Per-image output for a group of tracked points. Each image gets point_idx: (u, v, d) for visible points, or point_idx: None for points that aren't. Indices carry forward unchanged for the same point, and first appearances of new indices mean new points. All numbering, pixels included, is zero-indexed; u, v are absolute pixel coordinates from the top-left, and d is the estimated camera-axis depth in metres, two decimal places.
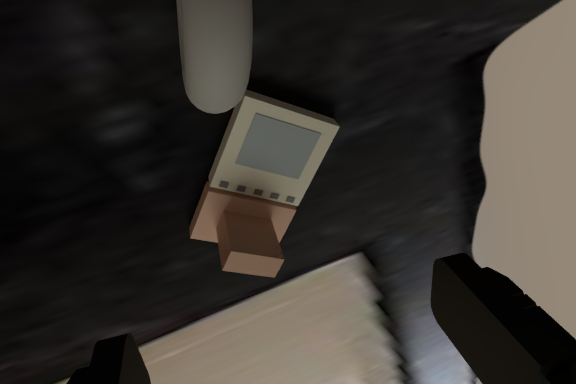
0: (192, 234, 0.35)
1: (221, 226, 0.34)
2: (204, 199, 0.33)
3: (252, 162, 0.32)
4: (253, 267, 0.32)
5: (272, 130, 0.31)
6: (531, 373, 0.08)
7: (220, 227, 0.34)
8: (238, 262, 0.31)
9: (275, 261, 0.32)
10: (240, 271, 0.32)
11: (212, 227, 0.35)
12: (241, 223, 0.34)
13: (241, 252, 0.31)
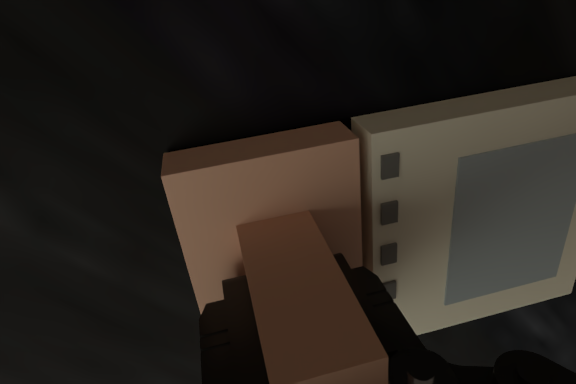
0: (179, 175, 0.10)
1: (284, 238, 0.10)
2: (319, 142, 0.11)
3: (467, 194, 0.12)
4: None
5: (554, 187, 0.13)
6: None
7: (274, 236, 0.10)
8: None
9: None
10: None
11: (235, 215, 0.11)
12: None
13: None
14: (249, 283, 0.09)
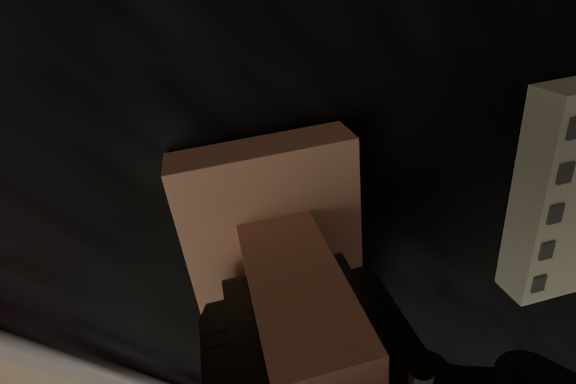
0: (179, 175, 0.10)
1: (285, 238, 0.10)
2: (319, 142, 0.11)
3: None
4: None
5: None
6: None
7: (274, 236, 0.10)
8: None
9: None
10: None
11: (235, 215, 0.11)
12: None
13: None
14: (249, 283, 0.09)
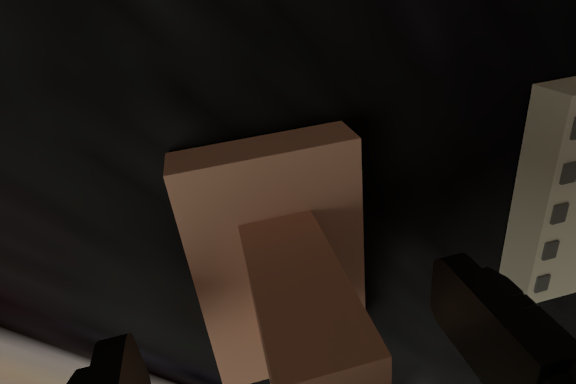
0: (181, 175, 0.10)
1: (287, 238, 0.10)
2: (321, 142, 0.11)
3: None
4: None
5: None
6: (531, 373, 0.08)
7: (276, 236, 0.10)
8: None
9: None
10: None
11: (237, 215, 0.11)
12: None
13: None
14: (251, 283, 0.09)
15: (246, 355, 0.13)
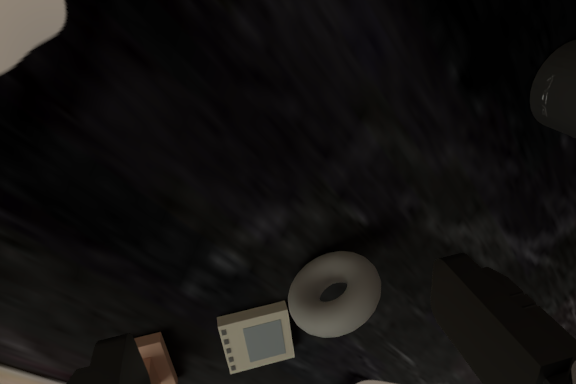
0: None
1: None
2: (151, 342, 0.45)
3: (247, 335, 0.47)
4: None
5: (274, 332, 0.48)
6: (531, 373, 0.08)
7: None
8: None
9: None
10: None
11: None
12: (153, 375, 0.45)
13: None
14: None
15: None
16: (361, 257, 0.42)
